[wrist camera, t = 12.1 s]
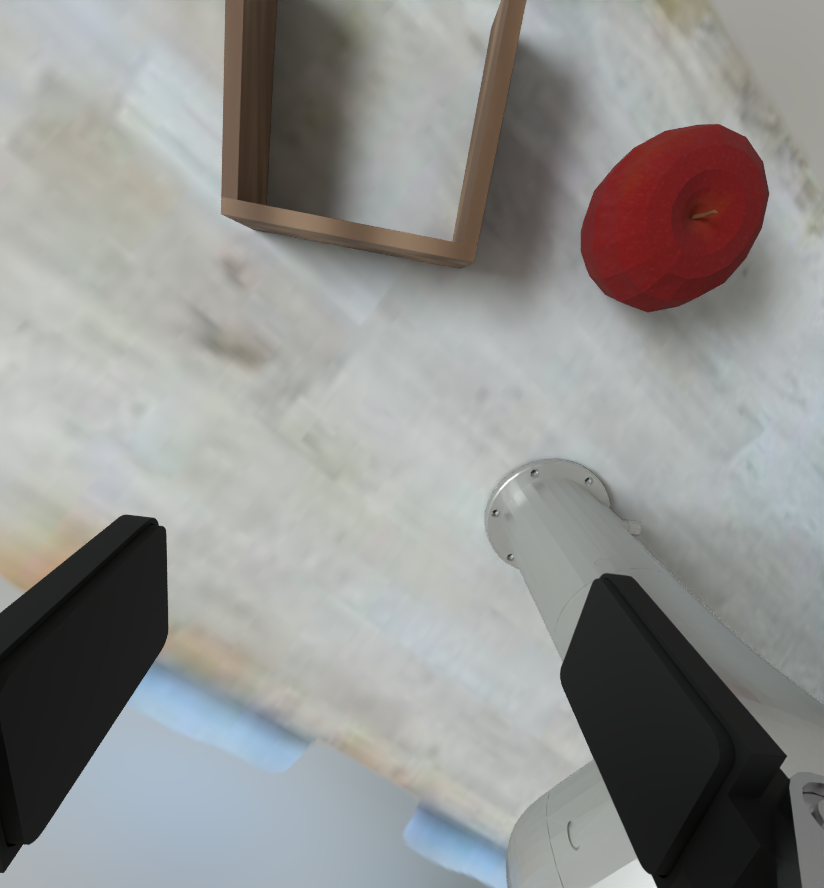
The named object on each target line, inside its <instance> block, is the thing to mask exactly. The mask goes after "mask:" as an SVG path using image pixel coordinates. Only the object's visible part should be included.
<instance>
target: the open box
mask: <svg viewBox="0 0 824 888" xmlns="http://www.w3.org/2000/svg"><path fill="white" fill-rule="evenodd" d="M525 4H526V0H501V3H500V6H499V8H498V11H497V14H496V16H495V19H494V22H493V25H492V28H491V33H490V39H489V44H488V50H487V55H486V60H485V66H484V71H483V77H482V82H481V88H480V93H479V99H478V104H477V110H476V115H475V121H474V126H473V132H472V137H471V143H470V148H469V154H468V159H467V165H466V170H465V176H464V181H463V187H462V192H461V198H460V203H459V209H458V214H457V220H456V225H455V231H454V236H453V242H451V241H446V240H441V239H436V238H430V237H425V236H420V235H415V234H410V233H405V232H400V231H395V230H389V229H384V228H379V227H374V226H369V225H364V224H359V223H353V222H348V221H343V220H338V219H333V218H328V217H323V216H318V215H312V214H307V213H302V212H297V211H292V210H287V209H282V208H277V207H271V206H266V204H267V185H268V165H269V146H270V127H271V107H272V88H273V68H274V49H275V29H276V10H277V0H226V1H225V49H224V98H223V146H222V194H221V214H222V215H224V216H226V217H228V218H230V219H233V220H235V221H237V222H239V223H241V224H243V225H245V226H247V227H249V228H251V229H254V230H259V231H265V232H270V233H275V234H280V235H286V236H291V237H296V238H302V239H307V240H312V241H317V242H323V243H328V244H333V245H339V246H344V247H349V248H354V249H360V250H365V251H370V252H376V253H381V254H386V255H392V256H397V257H402V258H407V259H413V260H418V261H423V262H429V263H434V264H439V265H444V266H450V267H455V268H462V267H464V266H466V265H469V264H471V263H473V262H474V259H475V254H476V249H477V244H478V239H479V234H480V229H481V224H482V219H483V214H484V209H485V204H486V199H487V194H488V189H489V184H490V179H491V174H492V169H493V164H494V159H495V154H496V149H497V144H498V139H499V134H500V129H501V124H502V119H503V114H504V109H505V104H506V99H507V94H508V89H509V84H510V79H511V74H512V69H513V64H514V59H515V54H516V49H517V44H518V39H519V34H520V29H521V24H522V19H523V14H524V9H525Z"/></svg>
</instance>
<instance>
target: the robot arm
mask: <svg viewBox="0 0 824 888" xmlns="http://www.w3.org/2000/svg"><path fill="white" fill-rule="evenodd" d="M532 470H534V471H533V472H531V471H532ZM586 478H587V479H586ZM494 510H495V511H494ZM485 528H486V533H487V536H488V539H489V541H490V543H491V545H492V548H493V549H494V551H495V552H496V553H497V554H498V556H499V557H500V558H501V559H502V560H504V561H505V562H506V563H507V564H509V565H511V566H513V567H515V568H517V569H519V570H520V572H521V574H522V576H523V578H524V581H525V583H526V585H527V587H528V589H529V591H530V593H531V595H532V598H533V600H534V602H535V604H536V606H537V608H538V610H539V613H540V615H541V617H542V619H543V621H544V623H545V625H546V628H547V630H548V632H549V634H550V636H551V638H552V640H553V643H554V645H555V647H556V649H557V651H558V653H559V655H560V657H561V659H562V661H563V664H562V666H561V671H560V679H561V684H562V687H563V689H564V692H565V694H566V696H567V698H568V701H569V703H570V705H571V708H572V710H573V712H574V714H575V717H576V719H577V721H578V724H579V726H580V728H581V730H582V733H583V735H584V737H585V740H586V742H587V744H588V746H589V749H590V751H591V753H592V756H593V758H594V759H593V760H592V761H590V762H589V763H588V764H586V765H585V766H583V767H582V768H580V769H579V770H577V771H576V772H575V773H573V774H572V775H570V776H569V777H567V778H566V779H564V780H563V781H562V782H560V783H559V784H557V785H556V786H555V787H553V788H552V789H551V790H549V791H548V792H547V793H545V794H544V795H542V796H541V797H540V798H539V799H537V800H536V801H535V802H534V803H533V804H531V805H530V806H529V807H528V808H527V809H526V810H525V812H524V813H523V814H522V815H521V817H520V818H519V819H518V821H517V823H516V824H515V826H514V828H513V831H512V833H511V836H510V839H509V843H508V848H507V854H506V878H507V887H508V888H824V705H823V704H822V703H821V702H819V701H818V700H817V699H815V698H814V697H813V696H811V695H810V694H809V693H807V692H806V691H805V690H803V689H802V688H801V687H800V686H798V685H797V684H796V683H794V682H793V681H792V680H790V679H789V678H788V677H786V676H785V675H784V674H782V673H781V672H780V671H779V670H777V669H776V668H775V667H773V666H772V665H771V664H770V663H768V662H767V661H766V660H765V659H763V658H762V657H761V656H760V655H758V654H757V653H756V652H755V651H754V650H752V649H751V648H750V647H749V646H747V645H746V644H745V643H744V642H743V641H742V640H740V639H739V638H738V637H737V636H736V635H735V634H734V633H733V632H732V631H731V630H730V629H729V628H727V627H726V626H725V625H724V624H723V623H722V622H721V621H720V620H719V619H718V618H717V617H716V616H714V615H713V614H712V613H711V612H710V611H709V610H708V609H707V608H706V607H705V606H704V605H703V604H702V603H701V602H700V601H699V600H698V599H697V598H695V597H694V596H693V595H692V594H691V593H690V592H689V591H688V590H687V589H686V588H685V587H684V586H683V585H682V584H681V583H680V582H679V581H678V580H677V579H676V578H675V577H674V576H673V575H672V574H671V573H670V572H669V571H668V570H667V569H666V568H665V567H664V566H663V565H662V564H661V563H660V562H659V561H658V560H657V559H656V558H655V557H654V556H653V555H652V554H651V553H650V552H649V551H648V550H647V549H646V548H645V546H644V544H643V543H641V542H639V541H638V540H636V539H635V538H634V537H633V536H632V535H636V536H637V535H639V534H640V533H641V529H642V528H641V524H640V522H638V521H631V520H621V519H620V518H619V517H618V516H617V515H616V514H615V513H614V512H613V511H612V510H611V509H610V501H609V497H608V494H607V492H606V490H605V488H604V485H603V484H602V483H601V482H600V480H599V479H598V478H597V477H596V476H595V475H594V474H593V473H592V472H590V471H589V470H588V469H586V468H585V467H583V466H581V465H580V464H577V463H574V462H571V461H568V460H561V459H544V460H540V461H535V462H532V463H529V464H527V465H524V466H522V467H520V468H518V469H517V470H515V471H513V472H512V473H510V474H509V475H508V476H507V477H506V478H505V479H503V480H502V481H501V483H500V484H499V485H498V486H497V488H496V489H495V490H494V492H493V494H492V495H491V497H490V499H489V502H488V505H487V508H486V513H485ZM167 635H168V591H167V543H166V529H165V527H163V526H159V524H158V521H157V520H156V519H155V518H150V517H142V516H134V515H122V516H121V517H119V518H118V519H116V520H115V521H114V522H113V523H111V524H110V525H109V526H108V527H106V528H105V529H104V530H103V531H102V532H100V533H99V534H98V535H97V536H95V537H94V538H93V539H92V540H90V541H89V542H88V543H87V544H85V545H84V546H83V547H82V548H80V549H79V550H78V551H77V552H75V553H74V554H73V555H72V556H70V557H69V558H68V559H67V560H66V561H64V562H63V563H62V564H61V565H59V566H58V567H57V568H56V569H54V570H53V571H52V572H51V573H49V574H48V575H47V576H46V577H44V578H43V579H42V580H41V581H39V582H38V583H37V584H36V585H34V586H33V587H32V588H31V589H29V590H28V591H27V592H26V593H25V594H23V595H22V596H21V597H20V598H18V599H17V600H16V601H15V602H13V603H12V604H11V605H10V606H8V607H7V608H6V609H5V610H3V611H2V612H1V613H0V873H4V872H5V870H6V869H7V867H8V866H9V865H10V863H11V862H12V860H13V858H14V857H15V856H16V854H17V853H18V851H19V850H20V848H21V847H22V845H23V844H28V845H29V844H31V843H33V842H34V841H35V840H36V839H37V838H38V837H39V835H40V834H41V833H42V831H43V830H44V829H45V827H46V825H47V824H48V823H49V821H50V820H51V818H52V817H53V815H54V814H55V812H56V810H57V809H58V807H59V806H60V804H61V803H62V801H63V800H64V798H65V797H66V795H67V794H68V792H69V790H70V789H71V788H72V786H73V785H74V783H75V781H76V780H77V778H78V777H79V775H80V774H81V772H82V771H83V769H84V768H85V766H86V765H87V763H88V762H89V760H90V759H91V757H92V756H93V754H94V752H95V751H96V749H97V748H98V746H99V745H100V743H101V742H102V740H103V739H104V737H105V736H106V734H107V732H108V731H109V730H110V728H111V726H112V725H113V723H114V722H115V720H116V719H117V717H118V716H119V714H120V713H121V711H122V710H123V708H124V707H125V705H126V704H127V702H128V701H129V699H130V697H131V696H132V694H133V693H134V691H135V690H136V688H137V687H138V685H139V684H140V682H141V681H142V679H143V678H144V676H145V675H146V673H147V671H148V670H149V668H150V667H151V665H152V664H153V662H154V661H155V659H156V658H157V656H158V655H159V653H160V652H161V650H162V648H163V646H164V644H165V642H166V639H167Z"/></svg>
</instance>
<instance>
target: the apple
mask: <svg viewBox="0 0 824 888" xmlns="http://www.w3.org/2000/svg"><path fill="white" fill-rule="evenodd" d="M768 197H769V190H768V185H767V180H766V175H765V170H764V164H763V161H762V160H761V158H760V157H759V155H758V154H757V152H756V151H755V149H754V148H753V147H752V145H751V144H750V142H749V141H748V139H747V138H746V137H745V136H743V135H741V134H738V133H736V132H734V131H732V130H730V129H728V128H726V127H724V126H722V125H719V124H708V125H695V126H689V127H684V128H678V129H673V130H668V131H664V132H662V133H660V134H659V135H657V136H655V137H653V138H651V139H649V140H648V141H646V142H644V143H642V144H640V145H638V146H637V147H635V148H633V149H632V150H631V151H630V152H629V153H628V154H627V155H626V156H625V157H624V158H623V159H622V160H621V161H620V162H619V163H618V164H617V165H616V166H615V167H614V168H613V169H612V170H611V171H610V173H609V174H608V175H607V176H606V177H605V179H604V180H603V181H602V182H601V184H600V185H599V186H598V187H597V188H596V190H595V191H594V193H593V196H592V198H591V201H590V204H589V207H588V210H587V213H586V216H585V219H584V222H583V226H582V229H581V253H582V256H583V259H584V262H585V266H586V269H587V271H588V273H589V276H590V277H591V278H592V279H593V280H594V282H595V283H596V284H597V285H598V287H599V288H600V289H601V290H602V291H603V293H604V294H605V295H607V296H609V297H611V298H613V299H615V300H617V301H620V302H622V303H625V304H627V305H630V306H632V307H635V308H638V309H640V310H643V311H646V312H652V311H657V310H662V309H667V308H672V307H677V306H680V305H682V304H685V303H687V302H689V301H691V300H693V299H695V298H697V297H699V296H701V295H703V294H705V293H706V292H708V291H710V290H712V289H714V288H716V287H717V286H719V285H721V284H723V283H725V281H726V280H727V279H728V278H729V277H730V276H731V275H732V273H733V272H734V271H735V270H736V269H737V268H738V267H739V265H740V264H741V263H742V262H743V261H744V260H745V258H746V257H747V255H748V253H749V251H750V249H751V247H752V246H753V244H754V242H755V240H756V238H757V236H758V234H759V232H760V230H761V228H762V225H763V220H764V216H765V211H766V206H767V202H768Z"/></svg>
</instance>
